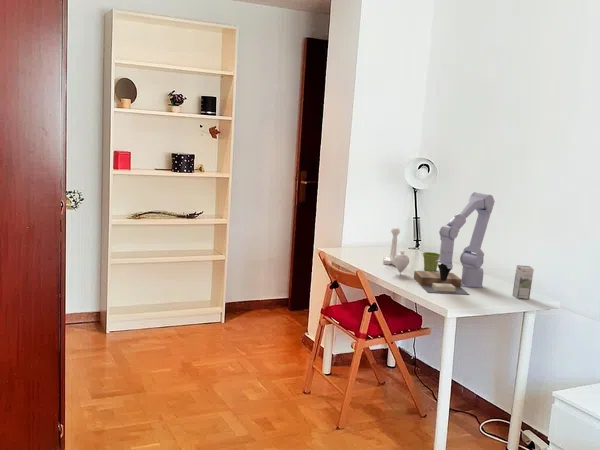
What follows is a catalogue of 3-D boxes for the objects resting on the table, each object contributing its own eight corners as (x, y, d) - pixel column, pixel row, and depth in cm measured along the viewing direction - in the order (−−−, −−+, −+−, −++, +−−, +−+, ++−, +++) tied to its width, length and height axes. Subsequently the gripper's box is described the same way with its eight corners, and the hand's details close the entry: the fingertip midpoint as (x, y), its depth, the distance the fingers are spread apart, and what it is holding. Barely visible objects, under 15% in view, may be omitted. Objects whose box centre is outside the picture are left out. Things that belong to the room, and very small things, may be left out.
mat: (460, 287, 292) (460, 287, 292) (469, 294, 280) (469, 294, 280) (420, 285, 290) (420, 285, 290) (428, 292, 278) (428, 292, 278)
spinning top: (396, 276, 304) (398, 252, 302) (389, 272, 312) (392, 249, 310) (410, 276, 307) (413, 252, 305) (403, 272, 314) (406, 249, 312)
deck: (451, 280, 304) (452, 272, 304) (460, 287, 292) (461, 279, 291) (413, 278, 303) (414, 270, 302) (420, 285, 290) (421, 277, 289)
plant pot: (427, 272, 318) (429, 256, 316) (417, 268, 326) (419, 252, 325) (442, 272, 321) (444, 256, 320) (432, 268, 330) (434, 252, 328)
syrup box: (524, 296, 285) (528, 265, 283) (529, 299, 279) (534, 268, 277) (512, 295, 285) (516, 264, 282) (517, 299, 279) (521, 267, 277)
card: (455, 287, 282) (455, 291, 282) (451, 283, 288) (450, 288, 288) (436, 286, 281) (435, 290, 282) (432, 282, 287) (431, 287, 287)
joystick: (401, 266, 329) (405, 228, 325) (389, 266, 325) (393, 228, 322) (389, 261, 338) (393, 225, 335) (378, 261, 335) (381, 225, 332)
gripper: (433, 247, 291) (430, 276, 293) (442, 254, 277) (439, 284, 279) (448, 248, 292) (444, 276, 294) (458, 255, 277) (454, 284, 280)
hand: (443, 280), depth 286 cm, fingers closed
